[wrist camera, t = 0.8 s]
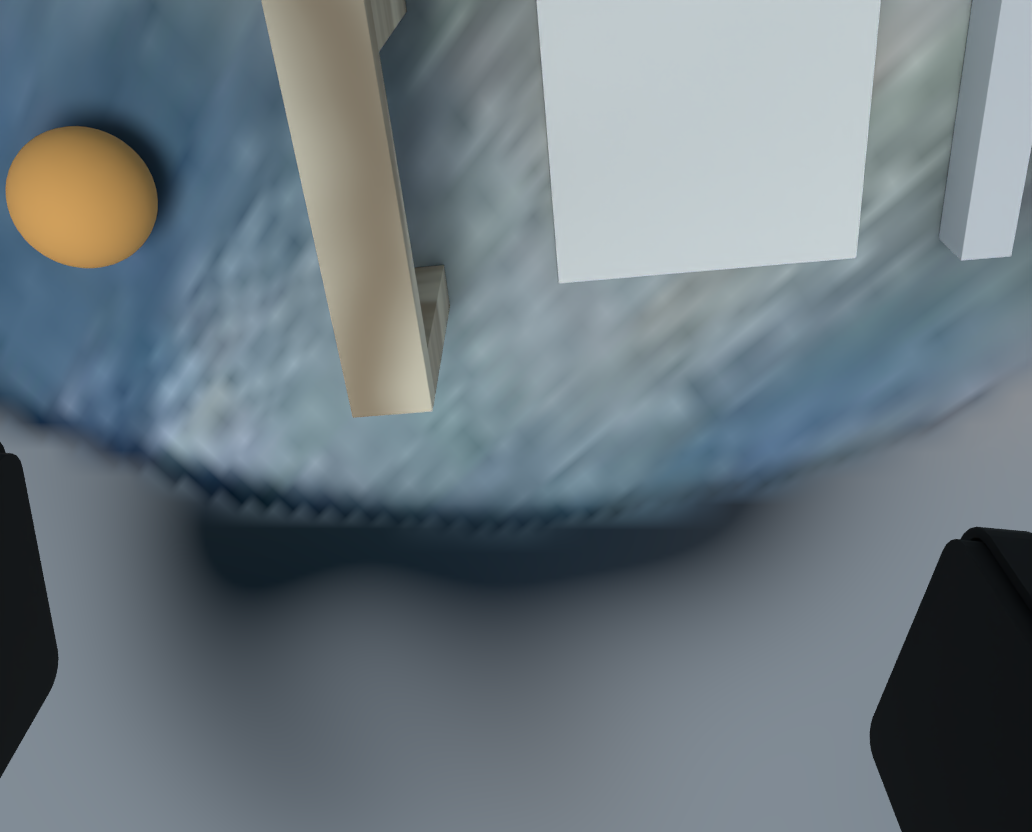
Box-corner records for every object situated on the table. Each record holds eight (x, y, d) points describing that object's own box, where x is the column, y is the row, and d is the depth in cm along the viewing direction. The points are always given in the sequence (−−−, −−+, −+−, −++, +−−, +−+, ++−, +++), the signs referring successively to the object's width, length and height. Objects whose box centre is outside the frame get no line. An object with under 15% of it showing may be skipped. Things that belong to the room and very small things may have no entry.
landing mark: (558, 281, 42) (558, 283, 42) (533, -39, 36) (533, -38, 35) (854, 256, 42) (856, 258, 41) (886, -76, 35) (887, -75, 35)
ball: (21, 185, 40) (-46, 231, 36) (79, 82, 38) (16, 116, 33) (137, 262, 42) (89, 316, 37) (199, 168, 40) (155, 213, 35)
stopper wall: (938, 238, 41) (961, 260, 39) (982, -71, 35) (1012, -65, 33) (985, 234, 41) (1010, 256, 39) (1038, -77, 35) (1071, -71, 33)
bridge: (384, 311, 43) (353, 417, 35) (319, -38, 36) (261, -1, 28) (449, 306, 43) (432, 411, 35) (398, -46, 36) (361, -12, 28)
